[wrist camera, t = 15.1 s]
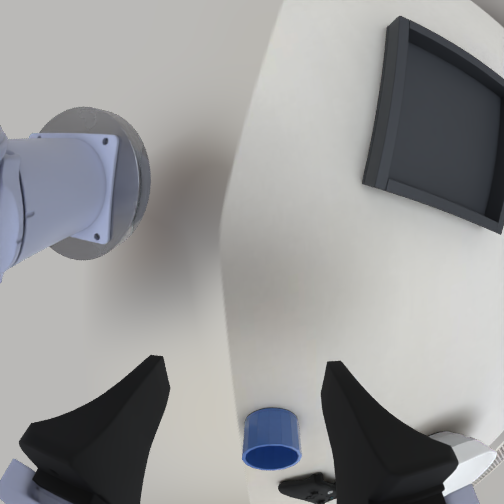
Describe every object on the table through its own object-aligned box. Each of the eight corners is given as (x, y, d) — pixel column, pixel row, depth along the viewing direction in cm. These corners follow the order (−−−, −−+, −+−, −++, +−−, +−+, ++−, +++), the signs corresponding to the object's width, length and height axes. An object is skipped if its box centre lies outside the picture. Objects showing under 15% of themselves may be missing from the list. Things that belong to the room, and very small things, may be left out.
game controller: (272, 488, 29) (298, 505, 24) (292, 459, 32) (320, 473, 27) (312, 501, 31) (338, 514, 26) (329, 475, 34) (356, 486, 29)
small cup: (236, 429, 26) (232, 463, 22) (260, 401, 24) (258, 438, 20) (281, 441, 26) (282, 473, 22) (308, 415, 25) (312, 450, 21)
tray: (361, 183, 18) (374, 187, 16) (386, 26, 14) (399, 14, 12) (484, 227, 18) (501, 234, 16) (503, 95, 14) (520, 92, 12)
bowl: (494, 411, 26) (515, 444, 18) (417, 480, 32) (428, 512, 24) (424, 406, 25) (449, 458, 17) (334, 484, 31) (341, 527, 23)
